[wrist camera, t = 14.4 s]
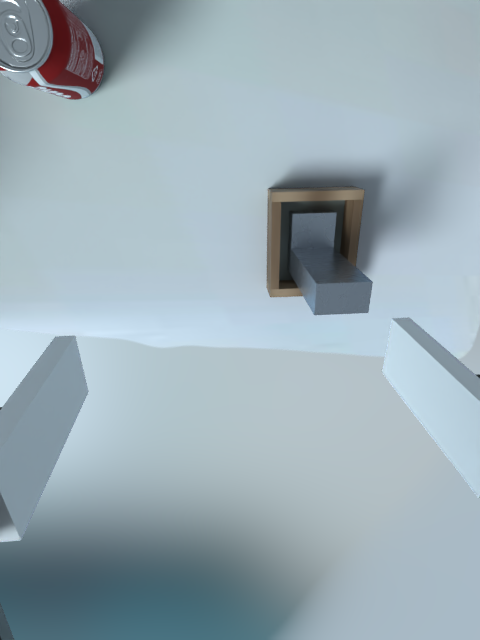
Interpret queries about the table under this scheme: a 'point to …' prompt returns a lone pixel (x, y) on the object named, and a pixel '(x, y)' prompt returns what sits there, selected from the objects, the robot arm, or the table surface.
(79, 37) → the soda can
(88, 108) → the table surface
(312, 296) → the bracket
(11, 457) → the robot arm
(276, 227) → the wooden frame
